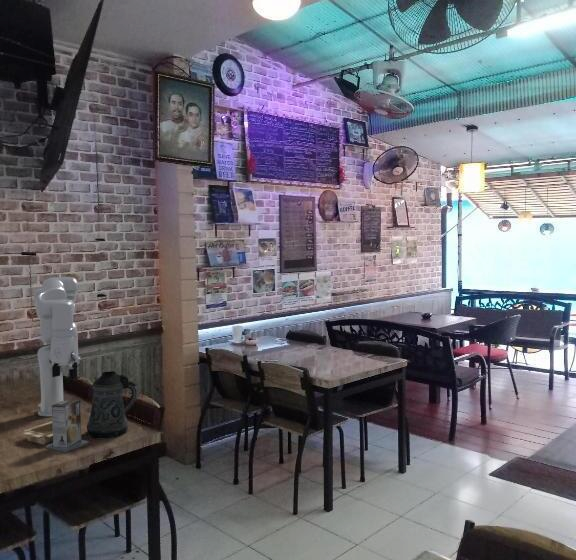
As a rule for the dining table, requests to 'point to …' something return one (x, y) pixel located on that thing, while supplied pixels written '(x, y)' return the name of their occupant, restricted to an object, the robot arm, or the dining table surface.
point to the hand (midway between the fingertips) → (64, 377)
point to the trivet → (64, 449)
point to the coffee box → (66, 423)
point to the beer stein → (110, 406)
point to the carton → (40, 433)
